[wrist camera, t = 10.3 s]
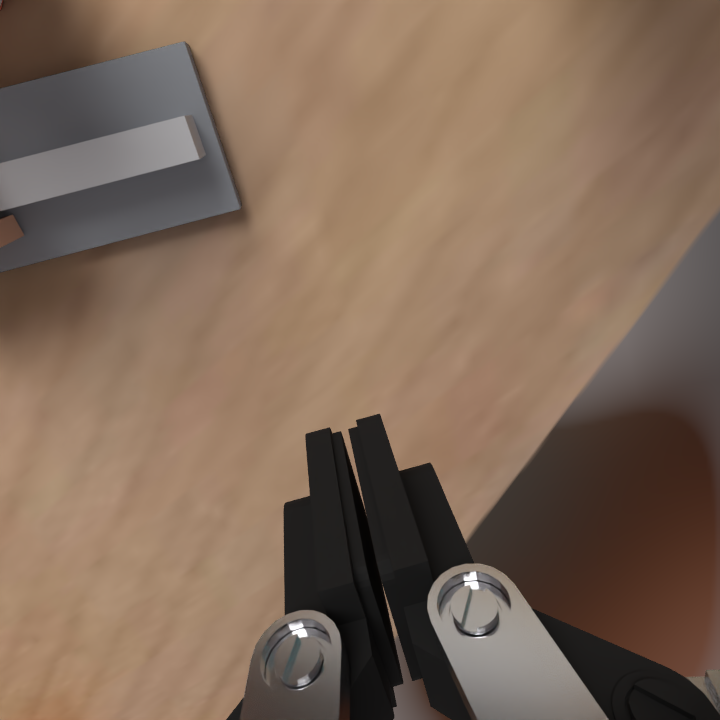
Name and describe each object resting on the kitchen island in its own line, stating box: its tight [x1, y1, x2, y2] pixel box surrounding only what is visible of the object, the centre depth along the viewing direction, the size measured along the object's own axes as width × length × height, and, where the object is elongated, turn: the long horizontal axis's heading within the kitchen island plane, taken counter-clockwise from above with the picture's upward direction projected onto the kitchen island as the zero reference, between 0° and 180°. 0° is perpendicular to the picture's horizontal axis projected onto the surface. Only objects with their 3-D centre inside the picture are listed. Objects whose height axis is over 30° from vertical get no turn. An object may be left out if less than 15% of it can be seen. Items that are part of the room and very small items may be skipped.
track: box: [0, 42, 242, 272], centre depth 30 cm, size 22×10×6 cm, turn 103°
